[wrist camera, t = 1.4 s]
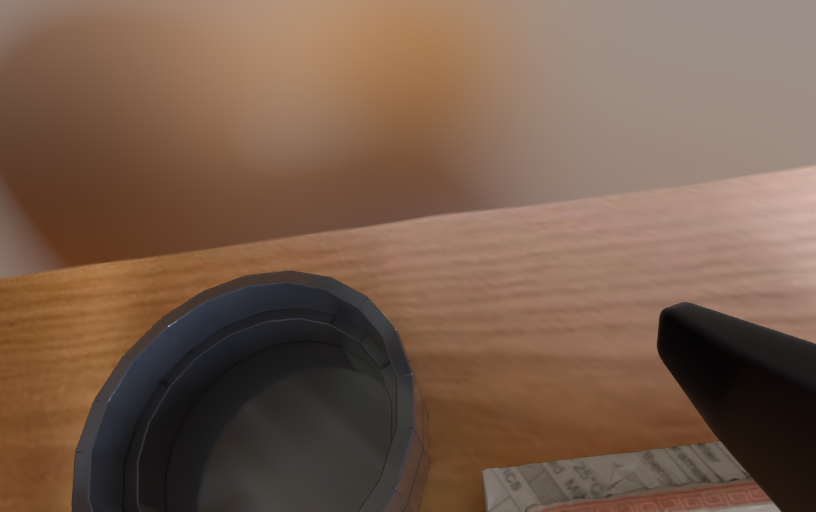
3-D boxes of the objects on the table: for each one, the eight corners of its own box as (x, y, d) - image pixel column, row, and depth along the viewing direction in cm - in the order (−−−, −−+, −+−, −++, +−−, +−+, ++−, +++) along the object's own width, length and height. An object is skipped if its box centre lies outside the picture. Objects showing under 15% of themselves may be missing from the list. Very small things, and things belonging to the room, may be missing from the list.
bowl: (439, 628, 20) (418, 618, 16) (103, 636, 21) (10, 629, 17) (426, 314, 28) (411, 256, 24) (185, 337, 30) (133, 287, 26)
